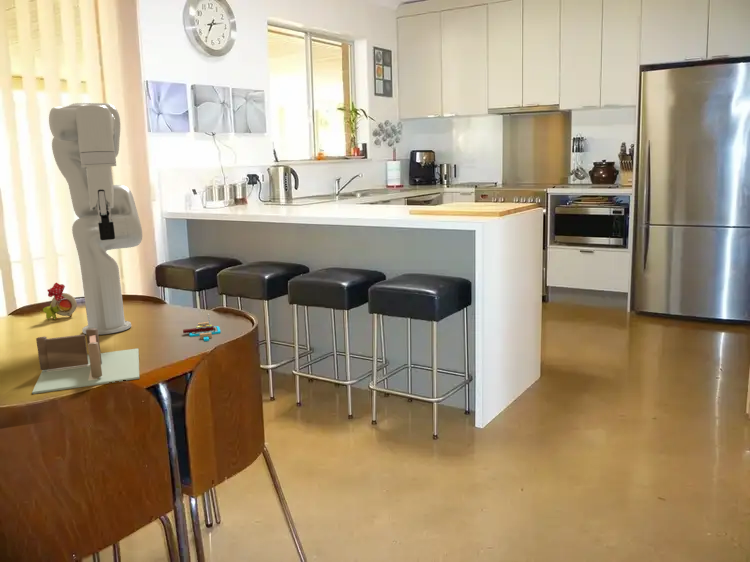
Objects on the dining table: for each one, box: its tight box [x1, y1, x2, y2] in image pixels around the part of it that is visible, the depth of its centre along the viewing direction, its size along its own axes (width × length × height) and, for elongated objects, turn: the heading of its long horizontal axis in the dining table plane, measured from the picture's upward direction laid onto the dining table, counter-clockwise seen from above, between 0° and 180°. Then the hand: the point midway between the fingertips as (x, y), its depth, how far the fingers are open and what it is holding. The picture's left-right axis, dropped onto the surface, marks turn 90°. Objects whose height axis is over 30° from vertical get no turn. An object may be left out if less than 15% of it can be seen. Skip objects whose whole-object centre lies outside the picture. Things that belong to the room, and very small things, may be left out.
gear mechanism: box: [182, 313, 221, 342], centre depth 175 cm, size 20×5×9 cm
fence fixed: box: [35, 328, 102, 371], centre depth 147 cm, size 2×12×8 cm, turn 110°
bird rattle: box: [42, 282, 78, 320], centre depth 204 cm, size 6×11×9 cm
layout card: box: [31, 348, 140, 395], centre depth 146 cm, size 25×20×1 cm
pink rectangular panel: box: [87, 335, 102, 378], centre depth 142 cm, size 2×11×7 cm, turn 24°
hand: (107, 239), depth 157 cm, fingers closed
